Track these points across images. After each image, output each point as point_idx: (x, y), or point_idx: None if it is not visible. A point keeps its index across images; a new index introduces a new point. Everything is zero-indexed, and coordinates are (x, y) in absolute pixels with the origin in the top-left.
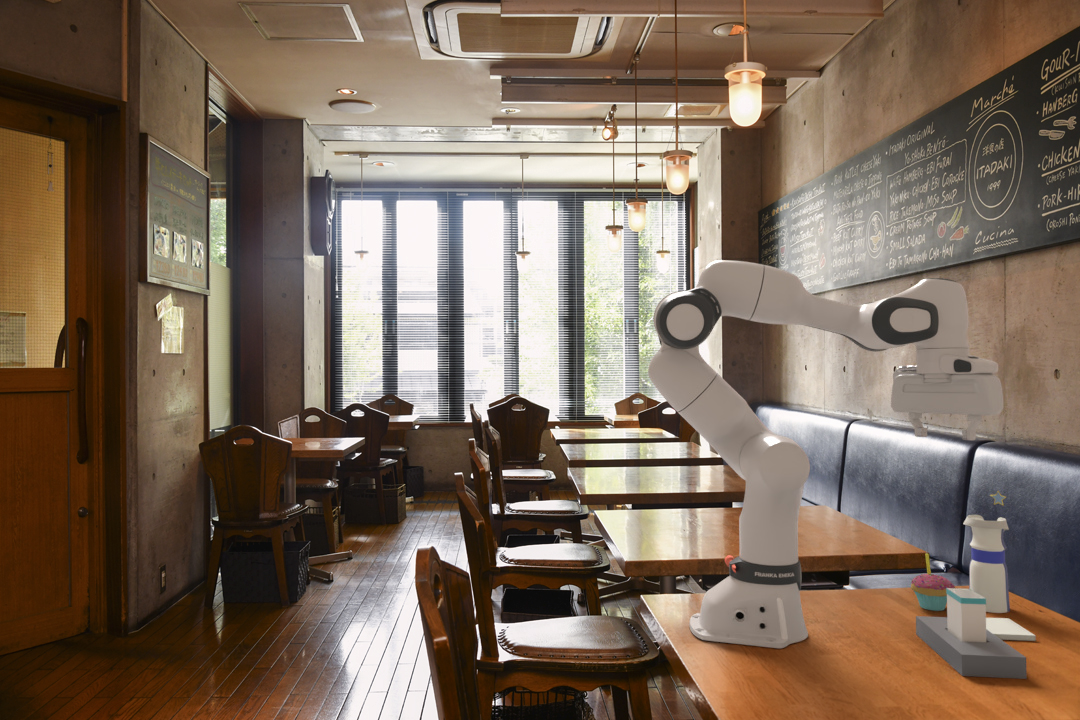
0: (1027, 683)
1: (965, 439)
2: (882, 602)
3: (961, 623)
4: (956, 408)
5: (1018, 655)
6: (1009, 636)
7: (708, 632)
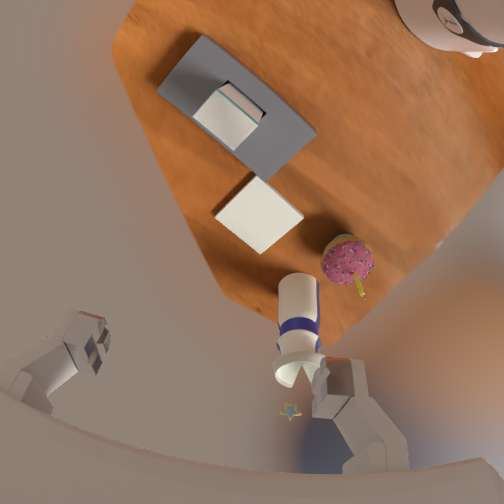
0: (158, 76)
1: (92, 314)
2: (396, 221)
3: (224, 86)
4: (33, 442)
5: (163, 90)
6: (233, 198)
7: None
